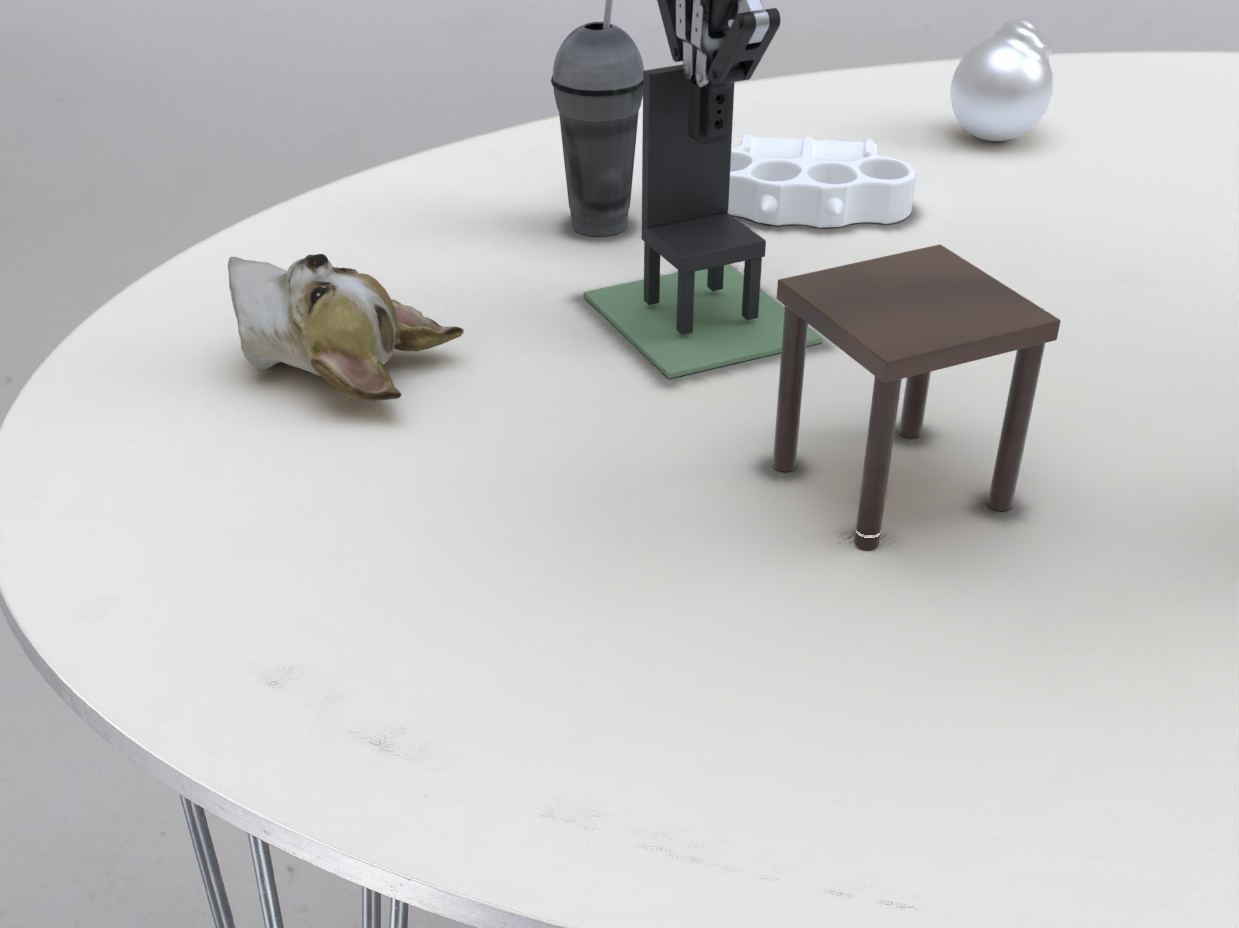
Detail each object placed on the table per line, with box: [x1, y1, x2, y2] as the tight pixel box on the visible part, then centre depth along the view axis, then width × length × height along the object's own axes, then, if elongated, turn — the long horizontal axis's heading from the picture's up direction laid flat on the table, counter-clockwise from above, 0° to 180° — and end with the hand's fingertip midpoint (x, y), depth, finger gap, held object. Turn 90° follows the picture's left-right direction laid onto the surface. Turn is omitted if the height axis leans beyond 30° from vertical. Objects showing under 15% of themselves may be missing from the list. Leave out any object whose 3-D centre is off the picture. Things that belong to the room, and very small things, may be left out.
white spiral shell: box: [949, 18, 1054, 142], centre depth 128 cm, size 9×10×10 cm
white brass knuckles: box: [728, 133, 917, 229], centre depth 120 cm, size 3×18×15 cm
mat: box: [583, 264, 823, 380], centre depth 104 cm, size 14×12×1 cm
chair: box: [641, 63, 767, 335], centre depth 98 cm, size 6×6×16 cm
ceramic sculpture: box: [227, 253, 465, 402], centre depth 96 cm, size 11×9×15 cm
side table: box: [772, 243, 1061, 551], centre depth 83 cm, size 11×11×12 cm
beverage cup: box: [550, 0, 645, 237], centre depth 111 cm, size 7×7×20 cm
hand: (707, 139), depth 95 cm, fingers closed
